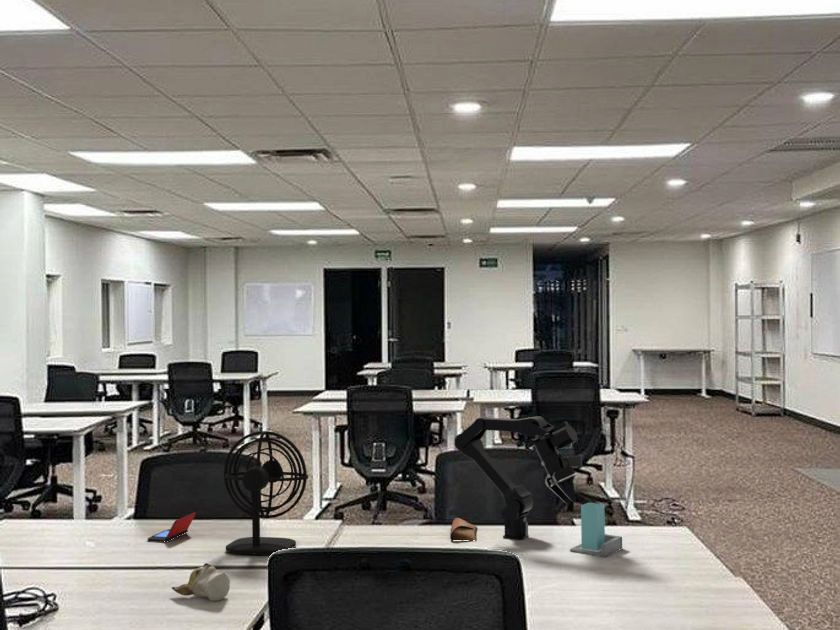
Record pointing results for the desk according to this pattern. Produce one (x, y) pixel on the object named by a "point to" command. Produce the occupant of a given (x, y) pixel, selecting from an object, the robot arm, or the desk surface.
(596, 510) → the block
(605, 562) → the desk surface
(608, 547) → the tray
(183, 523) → the handheld game console
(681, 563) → the desk surface
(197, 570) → the ceramic sculpture
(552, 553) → the desk surface
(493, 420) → the robot arm
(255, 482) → the desk fan
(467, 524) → the sunglasses case
